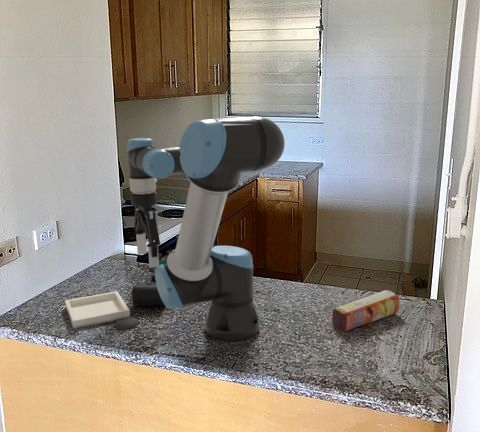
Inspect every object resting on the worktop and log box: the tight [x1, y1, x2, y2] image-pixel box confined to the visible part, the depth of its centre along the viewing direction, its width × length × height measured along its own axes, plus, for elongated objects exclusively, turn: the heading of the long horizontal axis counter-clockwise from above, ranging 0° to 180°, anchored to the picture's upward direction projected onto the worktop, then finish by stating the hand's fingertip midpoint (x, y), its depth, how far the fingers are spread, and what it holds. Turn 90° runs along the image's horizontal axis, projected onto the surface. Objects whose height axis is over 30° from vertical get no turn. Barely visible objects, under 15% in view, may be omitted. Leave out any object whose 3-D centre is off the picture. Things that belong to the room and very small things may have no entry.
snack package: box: [331, 289, 400, 333], centre depth 149 cm, size 21×7×7 cm, turn 122°
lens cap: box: [114, 317, 139, 331], centre depth 150 cm, size 6×6×1 cm
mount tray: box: [64, 290, 131, 330], centre depth 157 cm, size 16×16×2 cm
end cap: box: [131, 282, 166, 307], centre depth 162 cm, size 10×7×7 cm
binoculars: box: [148, 249, 174, 280], centre depth 183 cm, size 9×11×10 cm
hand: (148, 260), depth 159 cm, fingers open, 13 cm apart
